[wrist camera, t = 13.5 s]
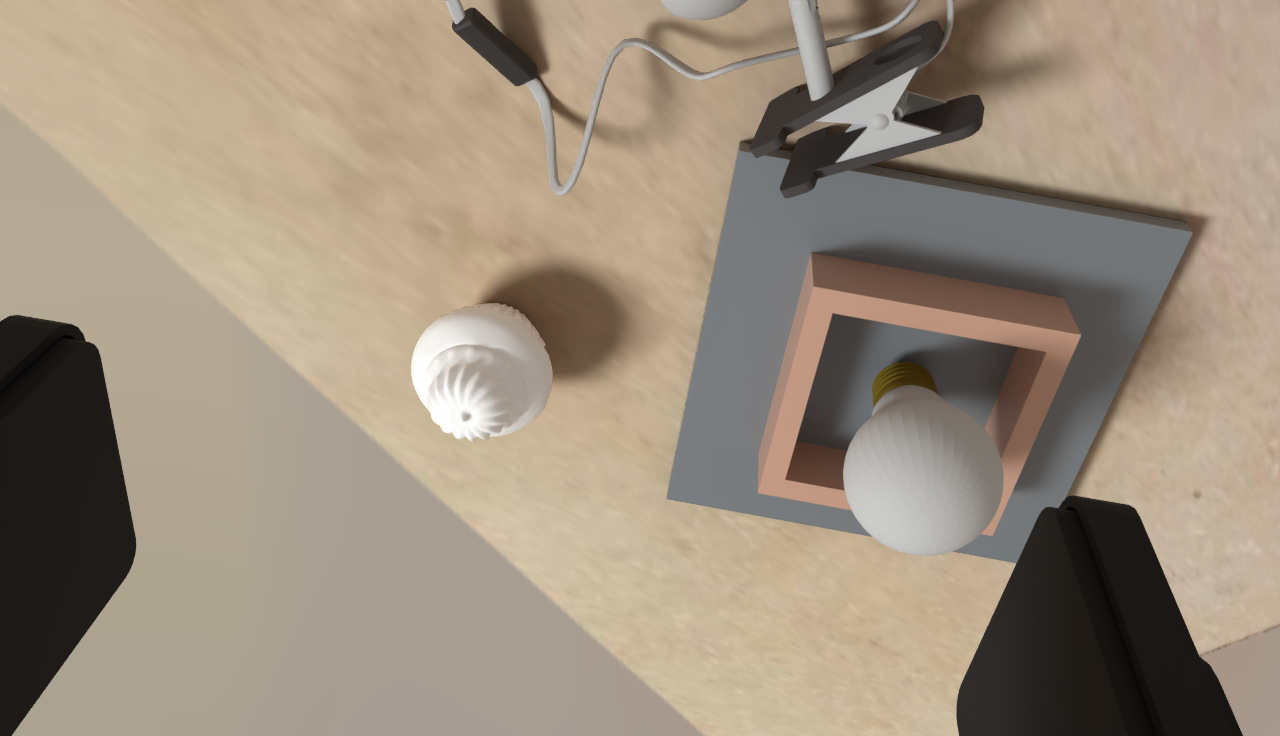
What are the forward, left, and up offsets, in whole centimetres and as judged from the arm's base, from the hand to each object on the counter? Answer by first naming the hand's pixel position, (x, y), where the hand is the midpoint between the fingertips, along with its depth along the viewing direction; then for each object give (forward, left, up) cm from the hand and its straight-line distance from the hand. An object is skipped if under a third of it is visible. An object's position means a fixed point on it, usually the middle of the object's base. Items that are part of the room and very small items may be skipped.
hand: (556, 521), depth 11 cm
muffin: (+19, -7, -33) cm, 38 cm away
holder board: (+17, +11, -33) cm, 38 cm away
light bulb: (+17, +11, -32) cm, 38 cm away
